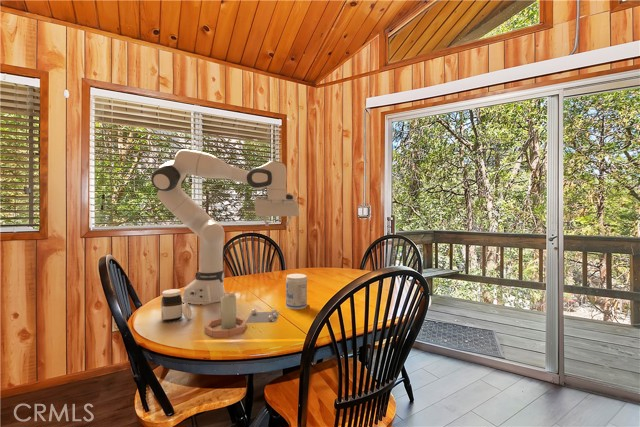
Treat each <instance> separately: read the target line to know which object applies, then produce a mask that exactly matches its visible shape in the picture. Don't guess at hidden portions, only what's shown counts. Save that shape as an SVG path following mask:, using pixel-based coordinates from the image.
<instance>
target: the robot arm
mask: <svg viewBox="0 0 640 427" xmlns="http://www.w3.org/2000/svg"><path fill="white" fill-rule="evenodd" d="M188 175H192V176H195V177H199V178H205V179H220V180H221V179H223V180H224V179H225V180H230V181H235V182H239V183H243V184H247V185H249V187H251V188H252V189H254V190H255V191H258V192H259V191H260V192H261V191H265V190H266V189H267V195H263V196H261V195H259V196H257V197H255V198H254V204H255V209H254V210H255V211H254V214H255V216H256V217H262V219H263V221H264V223H265V224H264V225H265V227H269V226H270V222H269V221H267V218H268V217H287V218H288V221H285V227H289V226H290V222H291V220H292V217H298V216H299V215H300V208H299V204H298V202H297V201H296V200H297V196H296V195H294V194H292V193H288V191H287V190H288V189H287V180H288V179H287V178H288V176H287V168H286V164H284V162H281V161H277V160H269V161H268V162H267V163H265V164H263V165H261V166H257V167H254V168H251V169H249V170H246V169H244V168H243V169H242V168H240V167H235V166H233V165H231V164H228V163H226V161H224V160H222V159H221V158H219V157H217V156H215V155H213V154H210V153H208V152H203V151H199V150H194V149H193V150H191V149H180V150H178V151H177V153H176V154H175V156H174V158H173V159H169V160H168V161H166V162H164V163H163V164H161V165H160V166H159V167H158V168H155V170H154V171H153V172H152V175H151V176H150V178H151V179H150V180H151V184H152V186H153V187H154V188H155V189H156V190H158V191H157V198H158V200H159V201H160V202H161V204H162V205H163V206H164V207H165V208H166V209H167V210H168V211H169V212H170V213H171V214H172V215H174V216H175V217H176V219H178V220H179V221H180V222H181V223H182V224H184V225H185V227H187V228H188V229H189V230H190V231H192V233H194V234H195V235H196V236H197V237H198V238H199V252H198V268H199V270H197V271H196V272H195V274H194V278H195V279H194V280H192V281H191V282H190V283H189V284H187V285H186V286H185V287H184V289H183V290H182V291H183V292H182V295H181V297H182V304H183V303H191V304H190V305H200V304H202V305H203V306H204V305H205V306H207V305H211V304H213V303H219V302H221V296H224V293H226V289H225V286H224V285H225V284H224V281H225V273H224V268H223V267H224V265H223V264H224V262H223V260H224V259H223V258H224V257H223V256H224V243H225V242H224V241H225V229H224V227H223V226H222V224H220V223H219V222H217V221H215V220H214V219H213V218H212V216H210V215H209V214H208V213H207V212H206V211H205V210H204V209H203V207H202V206H200V204H198V203H197V201H195V200H194V199H193V198H192V197H191V196H189V194H187V193H186V192H185V191H184V190H183V189H182V188H183V187H182V185H183V184H184V183H185V181H186V178H187V177H188Z"/></svg>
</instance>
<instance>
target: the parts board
mask: <svg viewBox="0 0 640 427" xmlns="http://www.w3.org/2000/svg"><path fill="white" fill-rule="evenodd" d="M279 315H280V311H277V309H276V308H272V309H271V311H257V309H256V308H252V309H251V311H250V314H249V316H248V317H247V319H246V320H247V324H248V323H254V324H255V323H256V324H257V323H261V324H262V323H265V324H266V323H277V321H278V319H279Z"/></svg>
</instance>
